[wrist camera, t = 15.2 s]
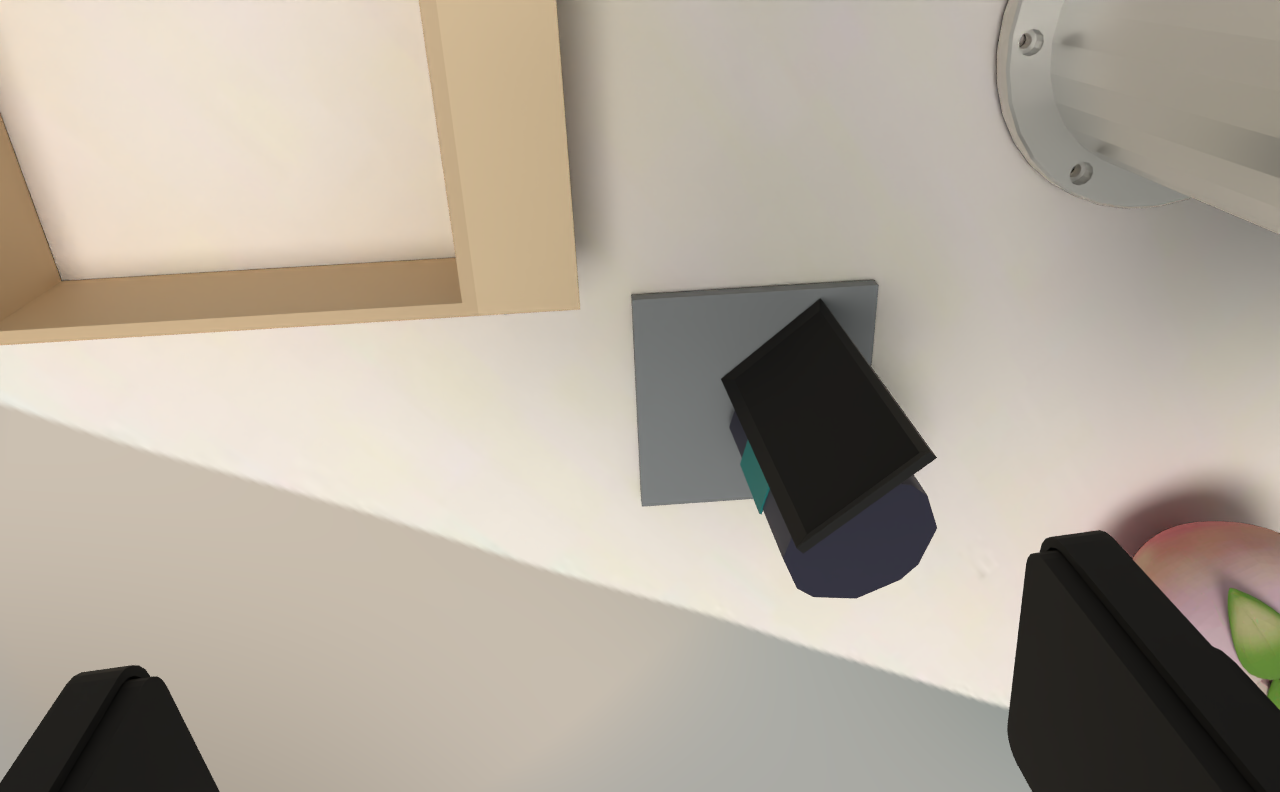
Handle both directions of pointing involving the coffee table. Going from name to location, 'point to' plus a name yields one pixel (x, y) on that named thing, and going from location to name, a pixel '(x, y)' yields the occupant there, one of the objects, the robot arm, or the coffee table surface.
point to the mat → (715, 376)
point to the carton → (381, 291)
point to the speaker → (830, 459)
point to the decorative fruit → (1224, 590)
